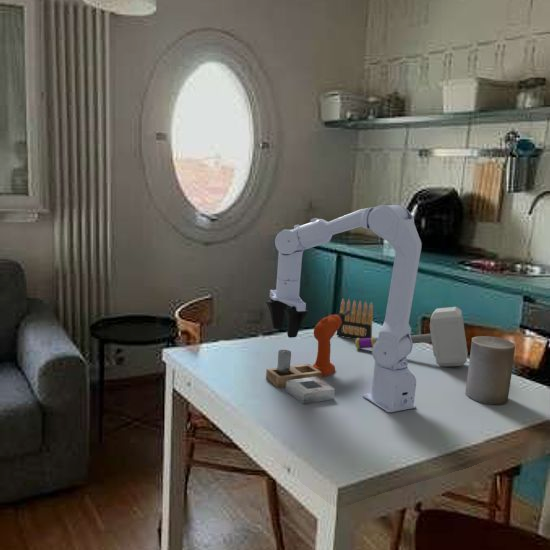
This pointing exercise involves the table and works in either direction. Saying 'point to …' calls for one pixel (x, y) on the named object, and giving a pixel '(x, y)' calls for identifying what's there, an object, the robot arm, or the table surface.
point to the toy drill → (327, 341)
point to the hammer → (439, 337)
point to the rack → (292, 374)
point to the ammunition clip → (356, 321)
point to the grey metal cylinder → (283, 362)
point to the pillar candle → (490, 370)
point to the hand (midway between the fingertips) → (284, 332)
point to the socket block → (310, 390)
